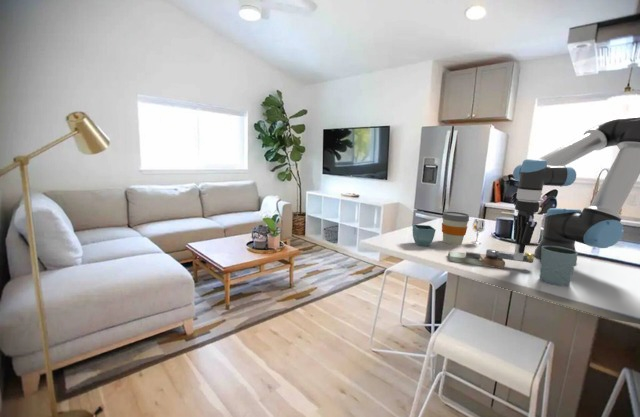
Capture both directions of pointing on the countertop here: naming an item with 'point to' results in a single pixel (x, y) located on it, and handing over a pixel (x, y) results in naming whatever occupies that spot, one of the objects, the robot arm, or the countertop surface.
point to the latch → (509, 255)
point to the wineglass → (478, 228)
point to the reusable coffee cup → (454, 227)
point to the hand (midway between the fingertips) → (518, 259)
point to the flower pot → (423, 234)
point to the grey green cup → (557, 265)
